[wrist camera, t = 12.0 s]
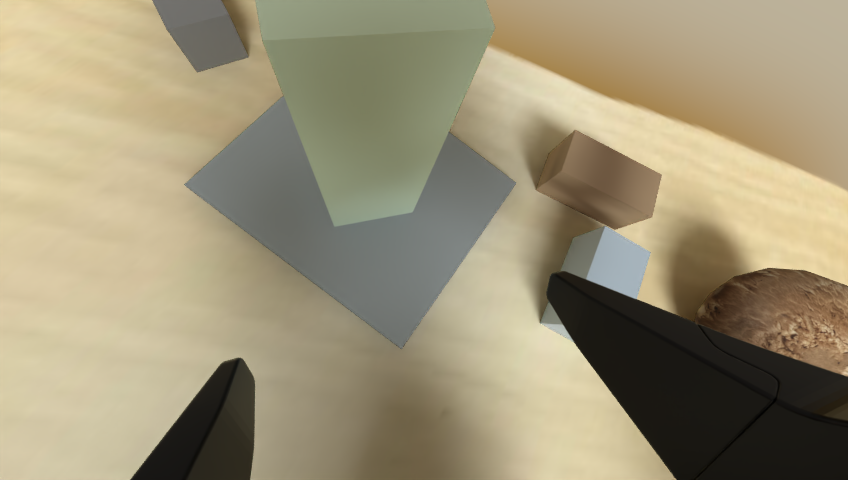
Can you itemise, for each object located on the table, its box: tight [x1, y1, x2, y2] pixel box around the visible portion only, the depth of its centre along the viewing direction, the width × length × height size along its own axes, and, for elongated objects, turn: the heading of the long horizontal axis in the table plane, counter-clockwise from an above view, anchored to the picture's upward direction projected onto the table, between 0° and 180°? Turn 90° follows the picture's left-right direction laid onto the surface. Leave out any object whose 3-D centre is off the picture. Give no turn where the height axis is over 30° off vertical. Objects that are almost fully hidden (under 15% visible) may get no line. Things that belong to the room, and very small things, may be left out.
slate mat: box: [184, 96, 516, 349], centre depth 18 cm, size 14×12×1 cm
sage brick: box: [255, 0, 495, 227], centre depth 12 cm, size 4×4×12 cm
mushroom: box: [695, 268, 848, 376], centre depth 18 cm, size 8×8×6 cm
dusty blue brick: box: [540, 226, 651, 342], centre depth 18 cm, size 6×3×3 cm, turn 152°
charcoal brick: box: [152, 0, 248, 72], centre depth 18 cm, size 6×3×3 cm, turn 29°
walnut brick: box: [536, 130, 662, 229], centre depth 20 cm, size 6×3×3 cm, turn 66°
